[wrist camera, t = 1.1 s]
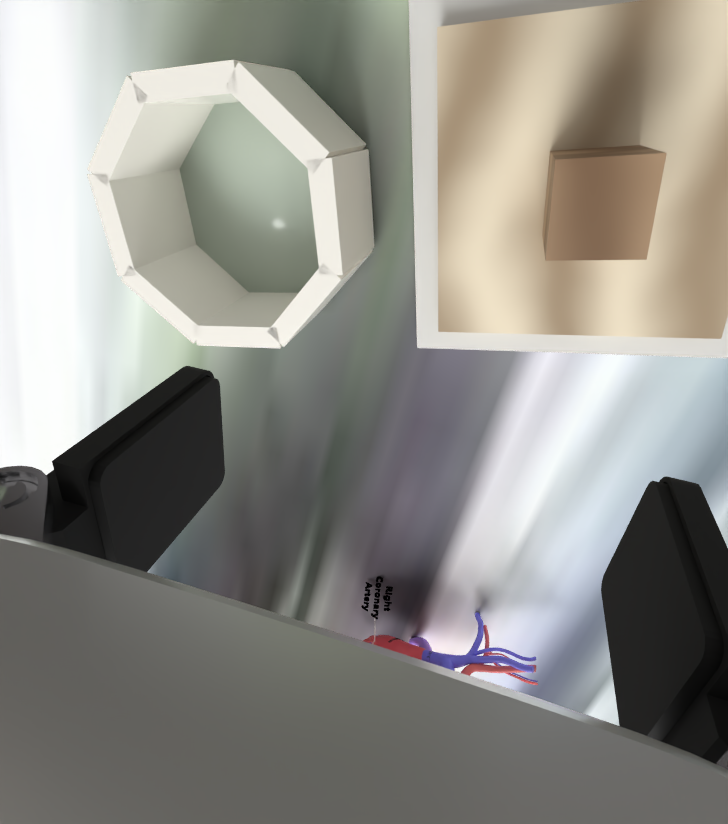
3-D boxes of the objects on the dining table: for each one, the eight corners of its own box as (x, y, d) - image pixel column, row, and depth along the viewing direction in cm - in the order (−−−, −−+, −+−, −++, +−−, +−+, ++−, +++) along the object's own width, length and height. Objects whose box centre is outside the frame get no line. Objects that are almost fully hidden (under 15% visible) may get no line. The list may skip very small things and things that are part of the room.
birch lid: (810, -18, 21) (909, -63, 16) (715, 332, 28) (760, 384, 23) (440, 29, 25) (416, 7, 19) (440, 326, 32) (423, 369, 27)
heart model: (328, 572, 49) (517, 583, 38) (372, 615, 53) (550, 634, 43) (258, 757, 39) (484, 835, 29) (319, 788, 44) (531, 865, 34)
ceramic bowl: (366, 62, 27) (321, 48, 21) (380, 308, 33) (349, 350, 27) (149, 87, 30) (58, 81, 24) (200, 306, 37) (138, 343, 31)
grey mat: (863, -70, 20) (870, -74, 20) (736, 355, 29) (739, 358, 29) (410, -3, 25) (408, -5, 25) (418, 344, 34) (417, 347, 33)
